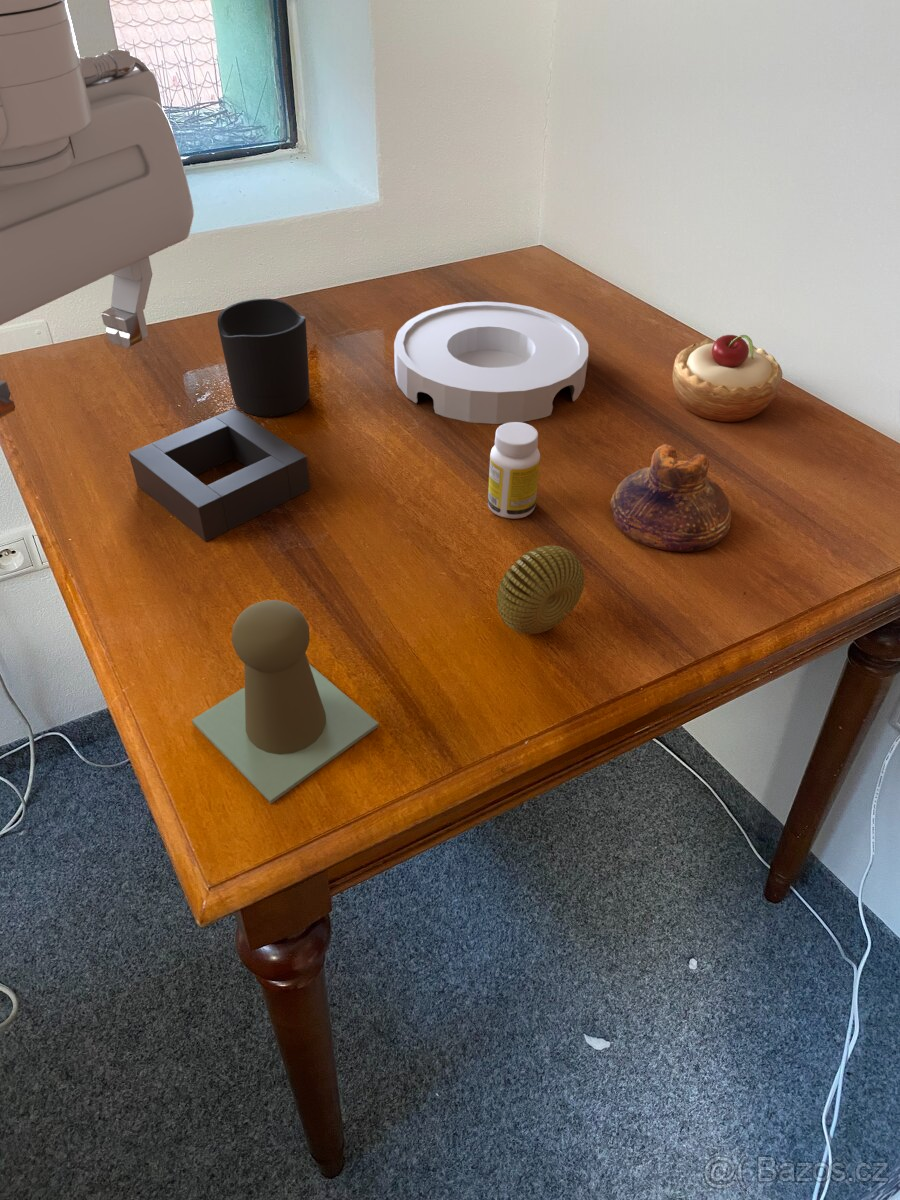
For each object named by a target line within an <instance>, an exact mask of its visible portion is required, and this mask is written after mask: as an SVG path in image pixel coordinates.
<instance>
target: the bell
mask: <svg viewBox="0 0 900 1200" xmlns="http://www.w3.org/2000/svg"><path fill="white" fill-rule="evenodd" d="M677 458H678V455H677V450H676V449H675V447H674V446H672V445H671V444H669V443H665V444H662V445H660V446H658V447H656V449H655V450H654V452H653V454H652V456H651V462H650V466H646V467H642V468H641V469H637V470H636V471H634V472H632V473H631V474H629V475H627V476H626V477H624V479H623V480H622V481H620V483H619V484H618V485H617V487H616V488H615V491H614V492H613V494H612V496H611V499H610V501H609V507H610V508H611V513H612V517H613V523H614V524H615V526H616V527H617V528H618V530H620V531H621V532H622V533H623V534H624V535H626V536H627V537H629V538H630V539H631V540H633V541H635V542H638V543H639V544H642V545H644V546H646V547H651V548H654V549H658V550H664V551H670V552H682V553H683V552H684V553H685V552H686V553H691V552H699V551H704V550H706V549H709V548H712V547H713V546H715V545H717V544H718V543H720V542H721V541H722V540H723V539H724V537H726V536H727V534H728V533H729V532H730V531H729V530H730V528H731V523H732V518H733V516H732V508H731V505H730V502H729V498H728V497H727V495H726V494H725V492H724V490H723V489H722V487H721V486H720V485H719V484H718V483H717V482H716V481H714V480H712V479H711V478H710V477H708V472H709V468H710V461H709V459H708V457H707V456H706V455H705V454H703V453H697V454H695V455H694V456H693V457H691V458H690V459H685V460H678V459H677Z"/></svg>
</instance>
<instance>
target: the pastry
mask: <svg viewBox="0 0 900 1200" xmlns="http://www.w3.org/2000/svg"><path fill="white" fill-rule="evenodd" d="M745 339H746V340H745ZM671 377H672V378H671V379H672V385H673V389H674V393H675V395H676V396H677V400H679V402H680V404H681V405H682V406H683V407H684V408H685V410H688V411H689V412H691V413H692V414H694V415H695V416H698V417H701V418H704V419H706V420H711V421H715V422H720V423H721V422H725V423H726V422H727V423H734V422H741V421H747V420H749V419H752V418H753V417H755V416H756V417H757V415H758V414H760V413H761V412H763V410H765V409H766V408H767V407H768V406H769V405H770V404H771V402H772V401H773V400H774V399H775V397H776V395H777V393H778V391H779V388H780V386H781V383H782V380H783V370H782V367H781V365H780V364H779V363H778V362H777V360H776V358H775V357H774V356H773V355H772V354H768V353H767V351H766V350H765V349H764V348H761V347H759V348H757V347H756V346H754V345H753V340H752V338H751V337H749V336H748V335H746V334H741V335H734V334H725V335H722V336H719V337H718V338H717V339H716V340H715V341H711V339H709V338H706V339H704V340H703V341H702V342H700V343H699V342H694V343H693V344H691V345H689V346H687V347H685V348H684V349H683V348H682V350H680V352H679V353H678V354H677V355H676V356H675V360H674V363H673V369H672V376H671Z"/></svg>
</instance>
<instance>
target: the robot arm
mask: <svg viewBox="0 0 900 1200" xmlns="http://www.w3.org/2000/svg"><path fill="white" fill-rule="evenodd" d="M135 68H137V69H135ZM160 90H161V89H160V85H159V81H158V78H157V77H156V75H155V73H154V72H153V71H151V70H150V68H149V67H148V65H147V64H146V63H145V62H144V61H142V60H141V59H140V58H138V57H136V56H133V55H132V53H131V52H130V51H129V50H127V49H110V50H108V51H105V52H103V53H102V54H101V55H96V56H84V57H80V53H79V49H78V45H77V40H76V35H75V31H74V27H73V23H72V19H71V15H70V11H69V7H68V3H67V0H0V326H3V325H4V324H7V323H8V322H11V321H13V320H15V319H17V318H19V317H21V316H24V315H27V314H29V313H30V312H33V311H34V310H37V309H39V308H40V307H43V306H45V305H47V304H50V303H52V302H53V301H55V300H58V299H60V298H62V297H64V296H67V295H68V294H69V295H70V294H71V293H74V292H75V291H78V290H79V289H82V288H84V287H86V286H88V285H90V284H93V283H94V282H97V281H99V280H101V279H104V278H105V277H108V276H110V275H111V276H113V284H112V293H111V302H110V303H111V304H110V307H109V308H108V309H105V310H104V311H102V312H100V315H101V318H102V319H101V320H102V322H103V325H104V326H105V327H106V328H105V329H106V330H105V335H106V337H107V339H108V340H109V342H110V343H111V344H113V345H115V346H122V347H123V348H126V349H129V348H130V347H131V348H132V346H134V345H136V344H138V343H140V342H142V341H144V340H145V339H147V338H149V331H148V326H147V322H146V317H145V313H144V310H145V309H146V305H147V300H148V295H149V291H150V288H151V282H152V278H153V271H152V266H151V261H150V260H151V259H150V257H151V256H153V255H155V254H157V253H160V252H161V251H164V250H166V249H168V248H170V247H172V246H174V245H177V244H179V243H181V242H183V241H185V240H187V239H188V238H189V236H190V233H191V230H192V227H193V226H192V225H193V223H194V217H195V209H194V204H193V199H192V195H191V191H190V187H189V182H188V179H187V175H186V171H185V167H184V163H183V160H182V156H181V154H180V149H179V147H178V142H177V140H176V137H175V134H174V131H173V128H172V125H171V123H170V121H169V118H168V117H167V115H166V113H165V110H164V107H163V101H162V96H161V91H160ZM15 410H16V405H15V402H14V401H13V399H11V391H10V388H9V384H8V383H7V381H6V380H4V379H0V419H2V418H4V417H6V416H7V415H9V414H11V413H12V412H14V411H15Z"/></svg>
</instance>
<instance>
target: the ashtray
mask: <svg viewBox="0 0 900 1200" xmlns="http://www.w3.org/2000/svg"><path fill="white" fill-rule="evenodd" d="M393 352H394V353H393V354H394V355H393V356H394V375H395V380H396V384H397V386H398V388H399V389H400V391H401V392H402V393H403V394H404V396H405V397H406V398H407V399H409V400H410V401H412V402H413V403H414V404H416V405H417V403H418V399H419V394H418V393H424V394H426V395H429V396H430V397H431V398H432V401H433V410H434V414H436V415H439V416H442V417H443V418H448V419H453V420H458V421H462V422H466V423H476V424H489V425H503V424H506V423H510V422H521V423H527V422H530V421H534V420H538V419H543V418H547V417H550V416H551V415H552V412H553V410H554V405H553V401H554V398H555V397H556V396H557V394H559V392H560V391H561V390H562V389H564V388H566V387H569V392H570V394H571V399H572V402H575V401H576V400H578V399H579V396H580V395H581V393H582V391H583V390H584V387H585V384H586V376H587V369H588V360H589V343H588V341H587V339H586V338H585V335H584V334H583V332H582V331H581V330H580V329H578V327H575V325H573V324H572V323H571V322H570V321H568V320H566V319H564V318H562V317H560V316H558V315H556V314H554V313H553V312H549V311H546V310H542V309H539V308H536V307H533V306H529V305H523V304H517V303H512V302H501V301H468V302H458V303H453V304H446V305H442V306H438V307H435V308H431V309H429V310H426V311H422V312H421V313H419V314H417V315H415V316H414V317H412V318H410V319H409V320H407V321H406V322H404V324H403V325H402V326H401V327H400V328H399V329H398V330H397V333H396V336H395V338H394V342H393Z"/></svg>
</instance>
